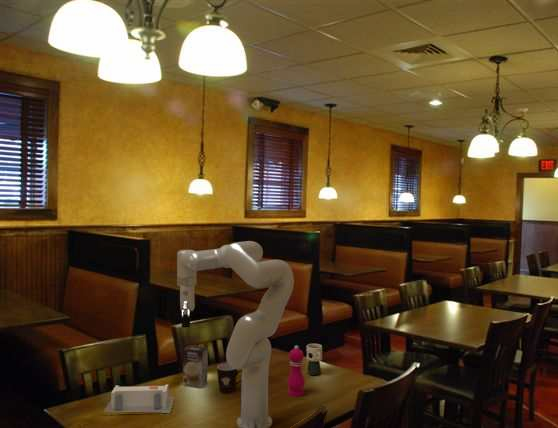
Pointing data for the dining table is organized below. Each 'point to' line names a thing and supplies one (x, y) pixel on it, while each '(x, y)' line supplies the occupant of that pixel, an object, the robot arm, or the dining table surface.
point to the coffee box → (195, 366)
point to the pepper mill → (296, 373)
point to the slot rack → (141, 408)
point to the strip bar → (139, 395)
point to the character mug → (314, 358)
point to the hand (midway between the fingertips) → (186, 324)
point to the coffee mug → (227, 378)
